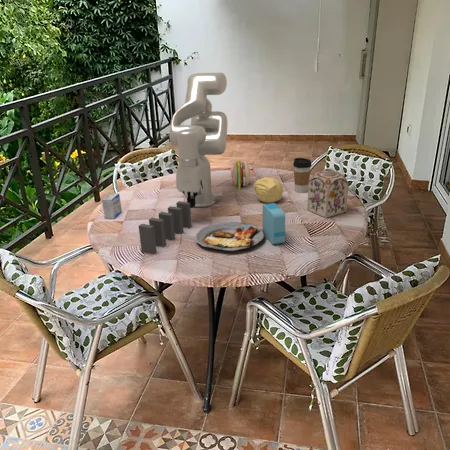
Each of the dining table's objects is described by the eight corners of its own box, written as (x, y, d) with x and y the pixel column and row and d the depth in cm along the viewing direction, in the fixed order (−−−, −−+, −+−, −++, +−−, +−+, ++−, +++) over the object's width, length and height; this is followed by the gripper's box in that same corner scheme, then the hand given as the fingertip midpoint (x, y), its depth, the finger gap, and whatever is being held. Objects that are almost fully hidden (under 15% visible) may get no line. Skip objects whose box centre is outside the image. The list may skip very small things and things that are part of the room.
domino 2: (154, 242, 166) (152, 217, 162) (166, 244, 164) (163, 219, 160) (151, 244, 164) (148, 219, 160) (162, 247, 162) (160, 221, 158)
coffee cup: (297, 186, 218) (298, 156, 212) (313, 189, 213) (315, 158, 207) (289, 191, 212) (289, 160, 206) (305, 194, 207) (306, 163, 201)
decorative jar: (347, 212, 186) (350, 170, 179) (326, 219, 181) (328, 175, 173) (326, 204, 196) (329, 163, 188) (306, 210, 190) (308, 168, 183)
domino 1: (144, 249, 161) (142, 223, 157) (156, 251, 159) (153, 225, 155) (141, 251, 159) (138, 225, 155) (153, 254, 157) (150, 228, 153)
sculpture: (250, 200, 203) (250, 177, 198) (270, 194, 209) (270, 171, 205) (268, 207, 194) (268, 183, 190) (287, 200, 201) (288, 177, 197)
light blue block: (285, 244, 161) (285, 213, 156) (273, 246, 160) (273, 214, 155) (273, 231, 172) (274, 201, 167) (262, 232, 171) (262, 203, 166)
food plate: (272, 231, 171) (272, 223, 169) (250, 259, 152) (250, 250, 150) (213, 224, 181) (212, 216, 179) (185, 249, 162) (184, 240, 160)
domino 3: (163, 236, 171) (161, 211, 167) (175, 238, 168) (172, 213, 164) (160, 238, 169) (158, 213, 165) (172, 240, 167) (169, 215, 163)
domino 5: (180, 224, 180) (179, 201, 176) (191, 226, 178) (190, 202, 174) (178, 226, 179) (176, 202, 175) (189, 228, 176) (187, 204, 172)
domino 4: (172, 230, 175) (170, 206, 171) (183, 232, 173) (181, 208, 169) (169, 232, 174) (167, 208, 170) (180, 234, 172) (178, 209, 168)
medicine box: (114, 219, 188) (111, 199, 184) (104, 218, 188) (101, 199, 185) (122, 212, 195) (119, 193, 191) (112, 211, 196) (109, 192, 192)
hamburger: (251, 188, 217) (251, 164, 213) (234, 189, 217) (233, 165, 212) (248, 181, 228) (248, 158, 224) (232, 181, 228) (232, 158, 223)
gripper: (167, 162, 173) (170, 207, 181) (200, 166, 167) (203, 212, 174) (177, 158, 180) (180, 201, 187) (210, 161, 173) (212, 206, 180)
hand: (191, 206), depth 180 cm, fingers closed
